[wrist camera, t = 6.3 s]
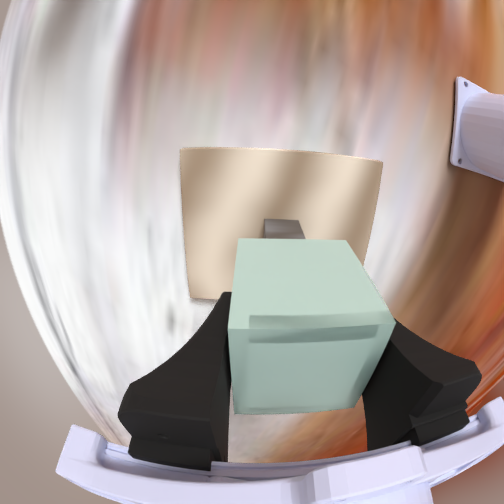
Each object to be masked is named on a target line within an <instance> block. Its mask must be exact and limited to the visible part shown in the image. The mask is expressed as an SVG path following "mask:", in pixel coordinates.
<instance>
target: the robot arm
mask: <svg viewBox="0 0 504 504" xmlns="http://www.w3.org/2000/svg"><path fill="white" fill-rule="evenodd" d="M464 83H465V85H464ZM458 160H459V163H458ZM450 162H451V164H452V165H455V166H458V167H461V168H465V169H468V170H471V171H474V172H477V173H480V174H483V175H486V176H489V177H491V178H494V179H497V180H499V181H502V182H504V95H501V94H491V93H489V92H487V91H486V90H484V89H482V88H481V87H479V86H477V85H475V84H474V83H472V82H470V81H468V80H466V79H464V78H462V77H457V78H456V95H455V116H454V129H453V139H452V147H451V155H450ZM231 296H232V292H223V293H222V294H221V296H220V298H219V300H218V302H217V303H216V305H215V307H214V308H213V310H212V311H211V313H210V314H209V316H208V317H207V319H206V320H205V322H204V323H203V324H202V325H201V327H200V328H199V329H198V331H197V332H196V333H195V334H194V335H193V336H192V338H191V339H190V340H189V341H188V342H187V343H186V344H185V345H184V346H183V347H182V348H181V349H180V350H179V351H178V352H176V353H175V354H174V355H173V356H172V357H171V358H170V359H168V360H167V361H166V362H164V363H163V364H162V365H160V366H159V367H157V368H156V369H155V370H153V371H152V372H150V373H149V374H147V375H145V376H143V377H142V378H140V379H138V380H136V381H134V382H133V383H131V384H130V385H129V387H128V389H127V391H126V393H125V395H124V397H123V400H122V402H121V405H120V408H119V411H118V418H119V420H120V422H121V423H122V425H123V426H124V427H125V428H126V430H127V431H128V432H129V433H130V434H131V436H132V438H131V441H130V445H129V447H125V446H121V445H118V444H114V443H111V442H107V440H106V439H105V438H104V437H103V436H102V435H101V434H99V433H97V432H95V431H92V430H89V429H86V428H83V427H81V426H78V425H75V424H73V425H72V426H71V428H70V432H69V434H68V436H67V439H66V442H65V444H64V447H63V450H62V453H61V456H60V459H59V461H58V464H57V467H56V473H57V474H59V475H60V476H62V477H64V478H65V479H67V480H69V481H71V482H72V483H74V484H76V485H78V486H80V487H81V488H83V489H85V490H87V491H90V492H92V493H95V494H97V495H100V496H103V497H105V498H108V499H111V500H114V501H117V502H120V503H123V504H433V499H432V495H431V491H430V488H431V487H433V486H435V485H438V484H440V483H442V482H444V481H446V480H448V479H450V478H451V477H453V476H455V475H457V474H459V473H461V472H462V471H464V470H466V469H468V468H469V467H471V466H473V465H474V464H476V463H478V462H480V461H481V460H483V459H484V458H486V457H487V456H489V455H490V454H492V453H493V452H494V451H495V450H497V449H498V448H499V447H501V446H502V445H503V444H504V401H503V400H502V398H501V397H498V398H496V399H494V400H492V401H490V402H488V403H487V404H486V405H484V406H483V407H482V408H481V409H480V410H479V411H478V413H477V414H475V415H473V416H471V417H469V418H468V416H467V413H466V411H465V409H466V408H467V406H468V405H467V403H466V399H467V398H468V397H469V396H470V395H471V394H472V392H473V391H474V390H475V389H476V388H477V386H478V385H479V383H480V381H481V378H482V375H481V373H480V371H479V369H478V368H477V366H476V364H475V362H474V361H471V360H468V359H465V358H462V357H459V356H456V355H453V354H451V353H449V352H446V351H444V350H442V349H440V348H438V347H436V346H434V345H432V344H431V343H429V342H427V341H425V340H424V339H422V338H420V337H419V336H417V335H416V334H414V333H413V332H411V331H410V330H409V329H407V328H406V327H405V326H403V325H402V324H401V323H399V322H398V321H397V320H396V319H395V318H394V320H395V322H396V324H395V326H394V329H393V331H392V334H391V336H390V338H389V340H388V343H387V345H386V347H385V349H384V351H383V354H382V356H381V358H380V360H379V362H378V364H377V366H376V368H375V370H374V372H373V374H372V376H371V378H370V380H369V382H368V383H367V385H366V387H365V389H364V391H363V393H362V397H363V403H364V410H365V418H366V428H367V448H368V451H367V452H362V453H357V454H352V455H347V456H341V457H334V458H327V459H319V460H310V461H299V462H283V463H230V462H228V429H229V406H230V389H231V381H232V379H231V366H230V353H229V339H228V322H229V313H230V304H231Z"/></svg>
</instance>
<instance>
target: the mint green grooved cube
mask: <svg viewBox="0 0 504 504" xmlns="http://www.w3.org/2000/svg"><path fill="white" fill-rule="evenodd" d="M395 324H396V322H395V320H394V318H393V316H392V314H391V313H390V311H389V309H388V307H387V306H386V304H385V302H384V300H383V299H382V297H381V295H380V294H379V292H378V290H377V289H376V287H375V285H374V284H373V282H372V280H371V279H370V277H369V275H368V274H367V272H366V271H365V269H364V267H363V266H362V264H361V263H360V261H359V259H358V258H357V256H356V255H355V253H354V252H353V250H352V249H351V247H350V246H349V244H348V243H347V241H346V240H318V239H255V238H238V245H237V253H236V262H235V270H234V278H233V287H232V296H231V304H230V313H229V322H228V339H229V353H230V366H231V379H232V391H233V402H234V413H235V414H294V413H309V412H321V411H331V410H339V409H347V408H354V407H355V405H356V403H357V402H358V400H359V398H360V396H361V394H362V393H363V391H364V389H365V387H366V385H367V383H368V382H369V380H370V378H371V376H372V374H373V372H374V370H375V368H376V366H377V364H378V362H379V360H380V358H381V356H382V354H383V351H384V349H385V347H386V345H387V343H388V340H389V338H390V336H391V334H392V331H393V329H394V326H395Z"/></svg>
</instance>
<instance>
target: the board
mask: <svg viewBox="0 0 504 504" xmlns="http://www.w3.org/2000/svg"><path fill="white" fill-rule="evenodd" d="M382 168H383V162H381V161H378V160H373V159H367V158H360V157H353V156H346V155H338V154H329V153H320V152H310V151H298V150H285V149H267V148H238V147H199V148H182V149H180V170H181V194H182V212H183V227H184V241H185V252H186V263H187V274H188V283H189V292H190V298H201V299H219V298H220V296H221V294H222V293H223V292H232V287H233V278H234V270H235V262H236V253H237V245H238V238H255V239H318V240H346V241H347V243H348V244H349V246H350V247H351V249H352V250H353V252H354V253H355V255H356V256H357V258H358V259H359V261H360V263H361V264H362V266H363V264H364V260H365V256H366V252H367V248H368V243H369V239H370V234H371V230H372V225H373V220H374V215H375V210H376V205H377V199H378V193H379V187H380V181H381V174H382Z"/></svg>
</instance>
